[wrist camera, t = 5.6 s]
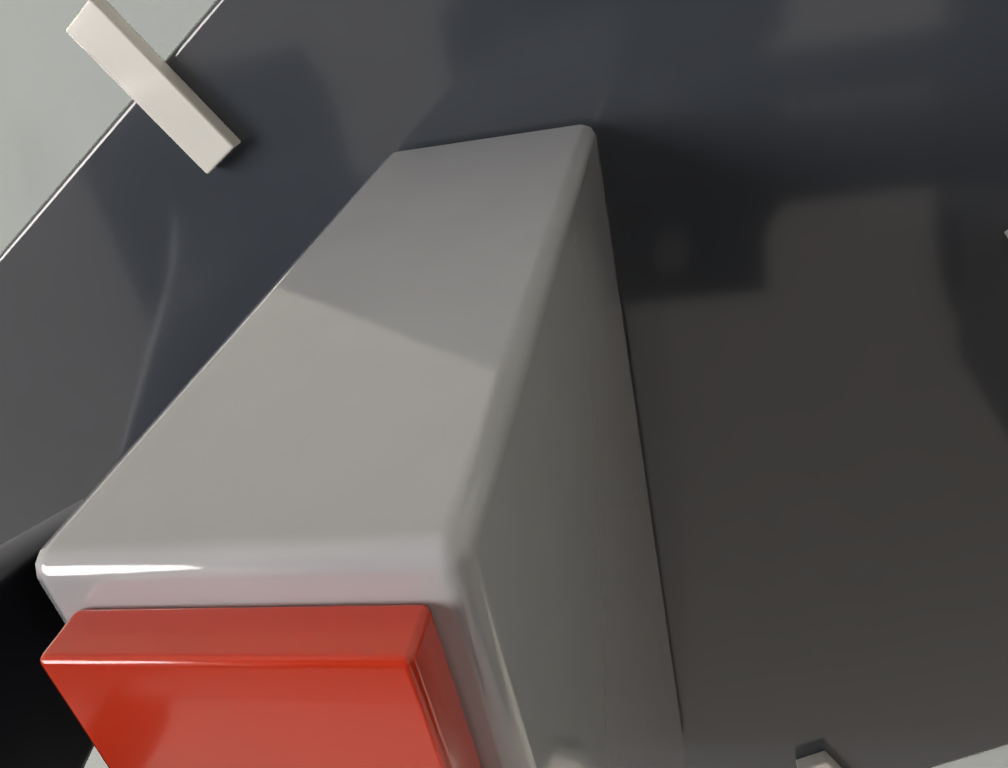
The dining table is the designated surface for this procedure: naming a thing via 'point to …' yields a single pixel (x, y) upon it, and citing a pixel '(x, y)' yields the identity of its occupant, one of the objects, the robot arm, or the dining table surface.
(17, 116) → the dining table surface
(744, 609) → the base
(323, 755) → the red-tipped white block
